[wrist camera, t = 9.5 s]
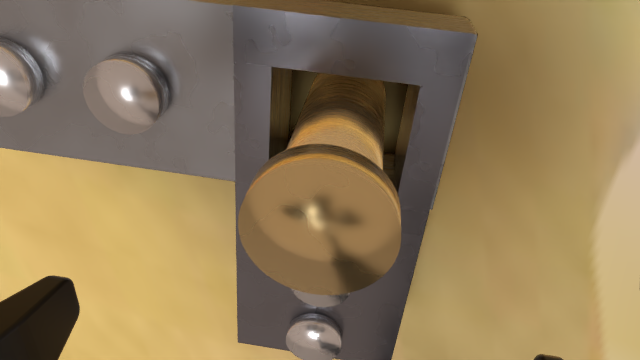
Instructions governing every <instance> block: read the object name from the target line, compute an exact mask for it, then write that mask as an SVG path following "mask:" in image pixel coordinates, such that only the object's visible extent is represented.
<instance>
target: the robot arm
mask: <svg viewBox="0 0 640 360" xmlns="http://www.w3.org/2000/svg"><path fill="white" fill-rule="evenodd" d="M79 311H80V307H79V302H78V299H77V295H76V291H75V288H74V284H73V282H72V280H71V279H69V278H66V277H60V276H47V277H45V278H43V279H41V280H39V281H38V282H36V283H34V284H32V285H30V286H28V287H27V288H25V289H23V290H21V291H19V292H18V293H16V294H14V295H12V296H10V297H9V298H7V299H5V300H3V301H1V302H0V360H58V359H59V356H60V354H61V352H62V350H63V348H64V346H65V344H66V342H67V340H68V338H69V336H70V333H71V331H72V329H73V327H74V325H75V323H76V321H77V319H78V316H79ZM534 360H563V359H562V358H560V357H556V356H550V355H544V354H539V355H537V356H536V357H535V359H534Z"/></svg>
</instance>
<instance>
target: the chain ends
mask: <svg viewBox="0 0 640 360" xmlns="http://www.w3.org/2000/svg"><path fill="white" fill-rule="evenodd" d="M477 36H478V34H477V32H476V31H475V29H474V27H473V25H472V23H471V22H470V20H468V19H467V18H466V17H462V16H453V15H445V14H436V13H428V12H419V11H410V10H402V9H393V8H385V7H376V6H367V5H359V4H350V3H342V2H333V1H324V0H0V148H6V149H13V150H20V151H27V152H34V153H41V154H48V155H55V156H62V157H69V158H76V159H83V160H90V161H97V162H104V163H111V164H118V165H125V166H132V167H139V168H145V169H152V170H159V171H166V172H173V173H180V174H187V175H194V176H201V177H208V178H215V179H222V180H229V181H235V191H236V256H237V322H238V342H239V343H245V344H251V345H257V346H263V347H269V348H275V349H281V350H287V351H291V352H292V353H293V354H294V355H295V356H297V357H299V358H301V359H303V360H332V359H334V358H335V359H341V360H391V359H392V355H393V351H394V347H395V343H396V339H397V335H398V331H399V327H400V324H401V320H402V316H403V312H404V308H405V304H406V300H407V296H408V292H409V289H410V285H411V281H412V277H413V273H414V269H415V265H416V261H417V257H418V254H419V250H420V246H421V242H422V238H423V234H424V230H425V226H426V222H427V218H428V215H429V211H430V209H431V210H432V208H433V205H434V201H435V197H436V193H437V189H438V185H439V182H440V178H441V174H442V170H443V166H444V162H445V158H446V155H447V151H448V147H449V143H450V139H451V135H452V132H453V128H454V124H455V120H456V116H457V112H458V109H459V105H460V101H461V97H462V93H463V89H464V85H465V82H466V78H467V74H468V70H469V66H470V62H471V59H472V55H473V51H474V47H475V43H476V39H477ZM292 69H294V70H302V71H310V72H318V73H326V74H334V75H342V76H350V77H358V78H366V79H373V80H381V81H389V82H397V83H405V84H408V88H407V93H406V99H405V104H404V109H403V114H402V119H401V125H400V130H399V135H398V140H397V145H396V151H395V154H391V153H384V152H383V171H384V172H385V173H386V175H387V176H388V177H389V179H390V180H391V181H392V183H393V185H394V187H395V189H396V191H397V194H398V197H399V201H400V207H401V245H400V250H399V253H398V256H397V258H396V260H395V262H394V264H393V265H392V267H391V268H390V269H389V271H388V272H387V273H386V274H385V275H384V276H383V277H381V278H380V279H379V280H377V281H376V282H375V283H373V284H371V285H369V286H368V287H365V288H363V289H361V290H358V291H354V292H351V293H346V294H340V295H317V294H310V293H305V292H301V291H298V290H294V289H291V288H289V287H287V286H284V285H282V284H280V283H279V282H277V281H275V280H273V279H272V278H270V277H269V276H267V275H266V274H265V273H264V272H263V271H261V270H260V269H259V268H258V267H257V266H256V265H255V264H254V262H253V261H252V260H251V259H250V257H249V256H248V254H247V252H246V251H245V249H244V247H243V244H242V242H241V239H240V235H239V230H238V216H239V211H240V207H241V205H242V203H243V200H244V198H245V196H246V194H247V192H248V190H249V187H250V185H251V183H252V181H253V179H254V177H255V175H256V174H257V172H258V171H259V169H260V168H261V167H262V166H263V165H264V164H265V163H266V162H267V161H268V160H270V159H271V158H272V157H274V156H275V155H277V154H278V153H280V152H282V151H285V150H286V149H287V146H288V144H289V141H290V140H288V139H289V121H290V102H291V83H292Z"/></svg>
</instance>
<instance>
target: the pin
mask: <svg viewBox="0 0 640 360" xmlns="http://www.w3.org/2000/svg"><path fill="white" fill-rule="evenodd" d="M385 99H386V95H385V87H384V84H383V82H382V81H381V80H373V79H366V78H358V77H350V76H342V75H334V74H326V73H318V75H317V76H316V78H315V80H314V82H313V84H312V87H311V89H310V92H309V94H308V97H307V99H306V102H305V104H304V107H303V109H302V112H301V114H300V117H299V119H298V122H297V124H296V127H295V129H294V132H293V134H292V136H291V139H290V141H289V144H288V146H287V149H286V150H285V151H282V152H280V153H278V154H277V155H275V156H274V157H272V158H271V159H270V160H268V161H267V162H266V163H265V164H264V165H263V166H262V167H261V168H260V169H259V171H258V172H257V174H256V175H255V177H254V179H253V181H252V183H251V185H250V187H249V190H248V192H247V194H246V196H245V198H244V200H243V203H242V205H241V207H240V211H239V216H238V230H239V235H240V239H241V242H242V244H243V247H244V249H245V251H246V252H247V254H248V256H249V257H250V259H251V260H252V261H253V262H254V264H255V265H256V266H257V267H258V268H259V269H260V270H261V271H263V272H264V273H265V274H266V275H267V276H269V277H270V278H272V279H273V280H275V281H277V282H279V283H280V284H282V285H284V286H287V287H289V288H291V289H294V290H298V291H301V292H305V293H310V294H317V295H340V294H346V293H351V292H354V291H358V290H361V289H363V288H365V287H368V286H369V285H371V284H373V283H375V282H376V281H377V280H379V279H380V278H381V277H383V276H384V275H385V274H386V273H387V272H388V271H389V269H390V268H391V267H392V265H393V264H394V262H395V260H396V258H397V256H398V253H399V250H400V245H401V207H400V201H399V197H398V194H397V191H396V189H395V187H394V185H393V183H392V181H391V180H390V179H389V177H388V176H387V175H386V173H385V172H384V171H383V150H384V124H385Z"/></svg>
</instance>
